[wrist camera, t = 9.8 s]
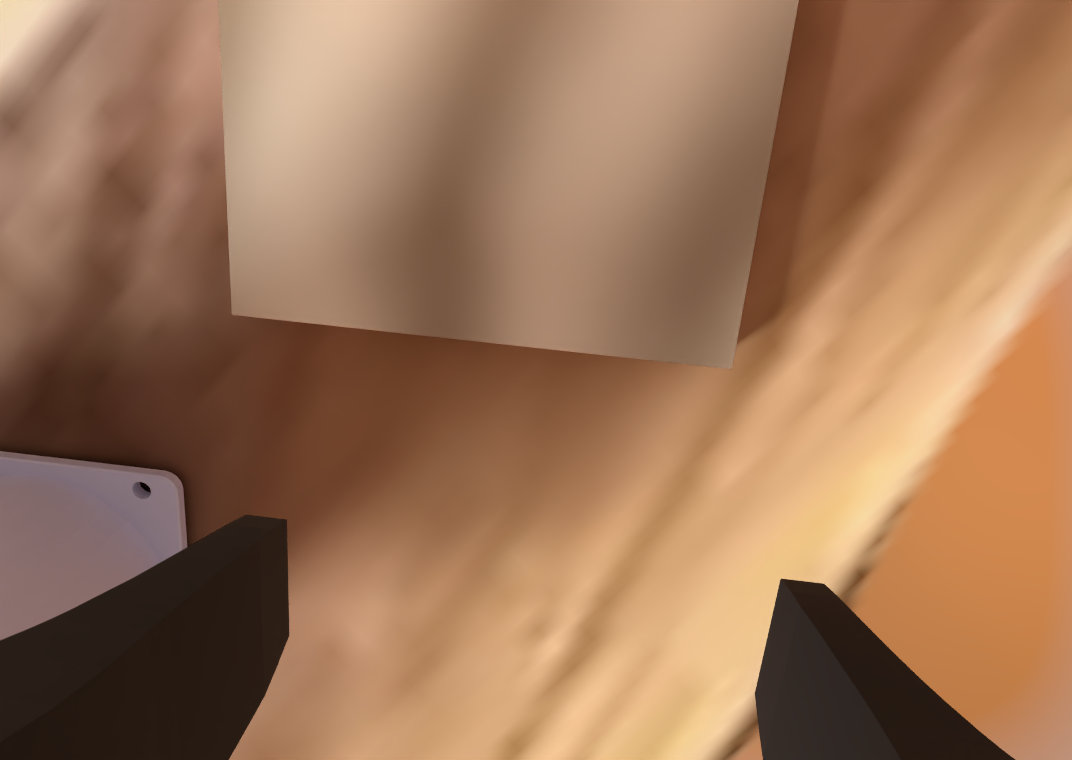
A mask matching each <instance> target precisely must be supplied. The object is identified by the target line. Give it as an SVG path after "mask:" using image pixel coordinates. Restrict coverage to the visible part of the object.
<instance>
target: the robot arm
mask: <svg viewBox="0 0 1072 760" xmlns="http://www.w3.org/2000/svg"><path fill="white" fill-rule="evenodd" d="M139 482H143V483H146V484H147V485H148V486H149V487H150V490H151V492H147V491H145V490H144V489H143V488H142V487H141V486H140V483H139ZM288 637H289V603H288V555H287V520H285V519H276V518H268V517H260V516H251V515H245V516H243V517H241V518H239V519H237V520H235V521H233V522H231V523H229V524H227V525H225V526H224V527H222V528H220V529H218V530H216V531H215V532H213V533H211V534H209V535H208V536H206V537H204V538H202V539H201V540H199V541H197V542H195V543H194V544H192V545H190V546H188V547H187V534H186V520H185V506H184V491H183V486H182V482H181V481H180V480H179V478H178V477H177V476H176V475H174V474H173V473H171V472H168V471H165V470H157V469H148V468H140V467H131V466H123V465H114V464H106V463H97V462H89V461H80V460H72V459H63V458H55V457H46V456H38V455H29V454H20V453H12V452H3V451H0V760H229V758H230V756H231V755H232V753H233V751H234V749H235V748H236V746H237V744H238V742H239V741H240V739H241V737H242V735H243V734H244V732H245V730H246V728H247V726H248V725H249V723H250V721H251V719H252V718H253V716H254V714H255V712H256V710H257V709H258V707H259V705H260V703H261V701H262V700H263V698H264V696H265V694H266V691H267V689H268V687H269V684H270V682H271V679H272V677H273V675H274V672H275V670H276V668H277V665H278V662H279V660H280V657H281V655H282V652H283V650H284V647H285V645H286V642H287V639H288ZM755 698H756V707H757V716H758V725H759V733H760V741H761V747H762V755H763V760H1015V759H1014V758H1012V757H1011V756H1010V755H1008V754H1007V753H1006V752H1004V751H1003V750H1002V749H1000V748H999V747H998V746H997V745H996V744H994V743H993V742H992V741H991V740H989V739H988V738H987V737H986V736H985V735H983V734H982V733H981V732H979V731H978V730H977V729H976V728H975V727H974V726H973V725H972V724H970V723H969V722H968V721H967V720H966V719H965V718H964V717H962V716H961V715H960V714H959V713H958V712H957V711H956V710H954V709H953V708H952V707H951V706H950V705H949V704H947V703H946V702H945V701H944V700H943V699H942V698H941V697H940V696H939V695H937V694H936V693H935V692H934V691H933V690H932V689H931V688H930V687H929V686H928V685H926V684H925V683H924V682H923V681H922V680H921V679H920V678H919V677H918V676H917V675H916V674H915V673H914V672H913V671H912V670H910V668H909V667H907V665H906V664H905V663H903V662H902V661H901V660H900V659H899V658H898V657H897V656H896V655H895V654H894V653H893V652H892V651H891V650H890V649H889V648H888V647H887V646H886V645H885V644H884V643H883V642H882V641H881V640H880V639H879V638H878V637H877V636H876V635H875V634H874V633H873V632H872V631H871V630H870V629H869V628H868V627H867V626H866V625H865V624H864V623H863V622H862V621H861V620H860V619H859V618H858V617H857V616H856V614H855V613H854V612H853V611H852V610H851V609H850V608H849V607H848V606H847V605H846V604H845V603H844V602H843V601H842V600H841V599H840V598H839V597H838V596H837V595H835V594H834V593H833V592H832V591H831V590H830V589H829V588H828V587H827V586H826V585H825V584H821V583H813V582H804V581H796V580H787V579H781V580H780V584H779V589H778V593H777V598H776V602H775V607H774V611H773V616H772V620H771V624H770V629H769V633H768V638H767V642H766V647H765V651H764V656H763V660H762V664H761V669H760V673H759V678H758V682H757V687H756V691H755Z"/></svg>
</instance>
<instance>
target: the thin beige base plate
mask: <svg viewBox="0 0 1072 760" xmlns="http://www.w3.org/2000/svg"><path fill="white" fill-rule="evenodd" d="M798 3H799V0H218V8H219V31H220V54H221V78H222V101H223V124H224V147H225V170H226V193H227V216H228V240H229V263H230V286H231V309H232V315H238V316H247V317H256V318H265V319H275V320H284V321H293V322H302V323H311V324H321V325H330V326H339V327H348V328H357V329H367V330H376V331H385V332H394V333H403V334H412V335H422V336H431V337H440V338H449V339H458V340H468V341H477V342H486V343H495V344H504V345H514V346H523V347H532V348H541V349H550V350H559V351H569V352H578V353H587V354H596V355H605V356H615V357H624V358H633V359H642V360H651V361H661V362H670V363H679V364H688V365H697V366H706V367H716V368H725V369H732V367H733V361H734V356H735V350H736V345H737V339H738V333H739V328H740V322H741V317H742V311H743V306H744V300H745V295H746V289H747V284H748V278H749V273H750V267H751V262H752V256H753V251H754V245H755V240H756V234H757V229H758V223H759V218H760V212H761V207H762V201H763V196H764V190H765V185H766V179H767V174H768V168H769V163H770V157H771V152H772V146H773V141H774V135H775V130H776V124H777V119H778V113H779V108H780V102H781V97H782V91H783V86H784V80H785V74H786V69H787V63H788V58H789V52H790V47H791V41H792V36H793V30H794V25H795V19H796V14H797V8H798Z"/></svg>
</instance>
